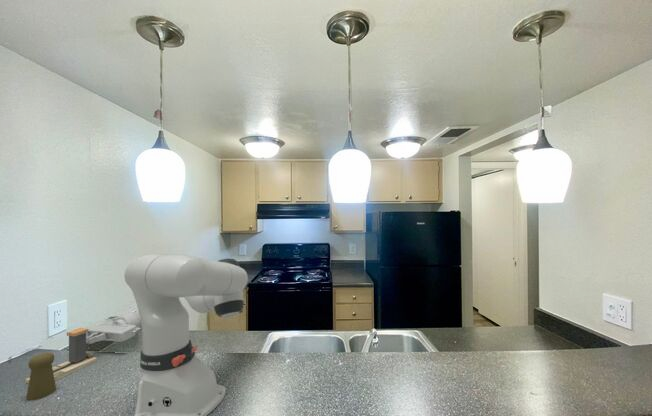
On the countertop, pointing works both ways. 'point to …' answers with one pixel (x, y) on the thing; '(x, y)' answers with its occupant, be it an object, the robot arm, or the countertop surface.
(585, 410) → the countertop surface
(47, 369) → the cork
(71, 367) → the fader board
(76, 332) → the fader knob
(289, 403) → the countertop surface
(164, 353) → the robot arm
